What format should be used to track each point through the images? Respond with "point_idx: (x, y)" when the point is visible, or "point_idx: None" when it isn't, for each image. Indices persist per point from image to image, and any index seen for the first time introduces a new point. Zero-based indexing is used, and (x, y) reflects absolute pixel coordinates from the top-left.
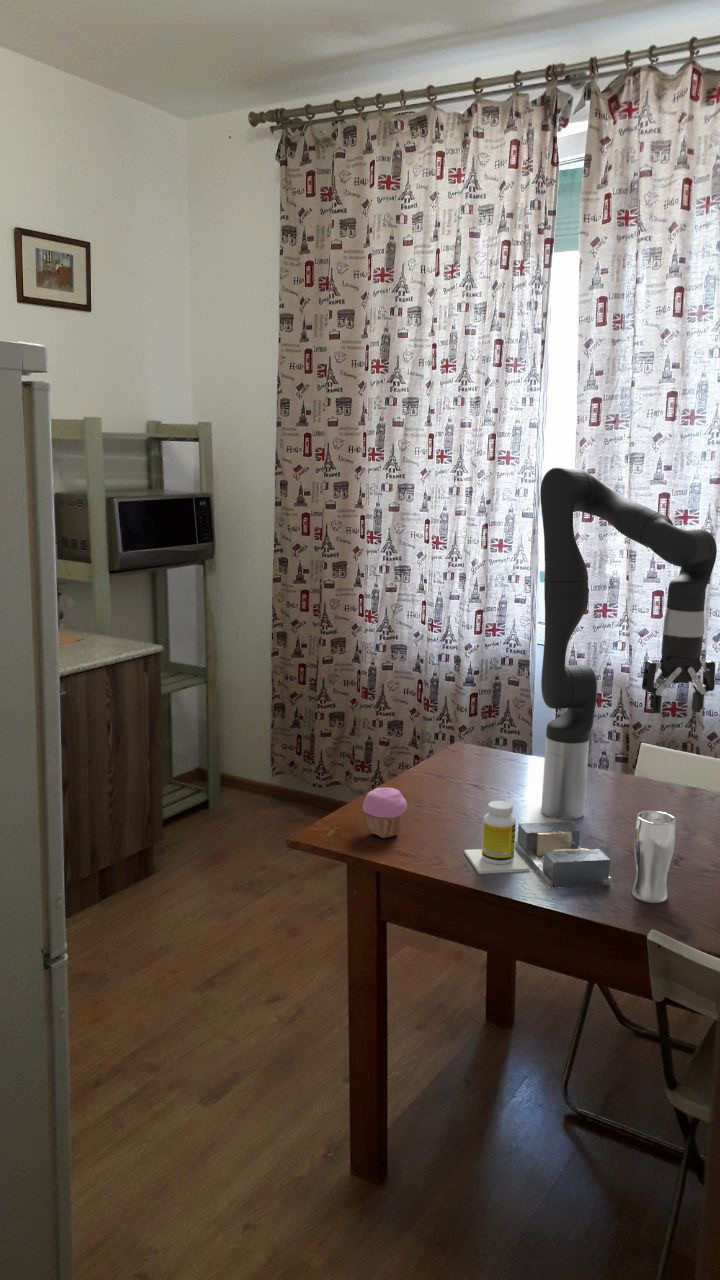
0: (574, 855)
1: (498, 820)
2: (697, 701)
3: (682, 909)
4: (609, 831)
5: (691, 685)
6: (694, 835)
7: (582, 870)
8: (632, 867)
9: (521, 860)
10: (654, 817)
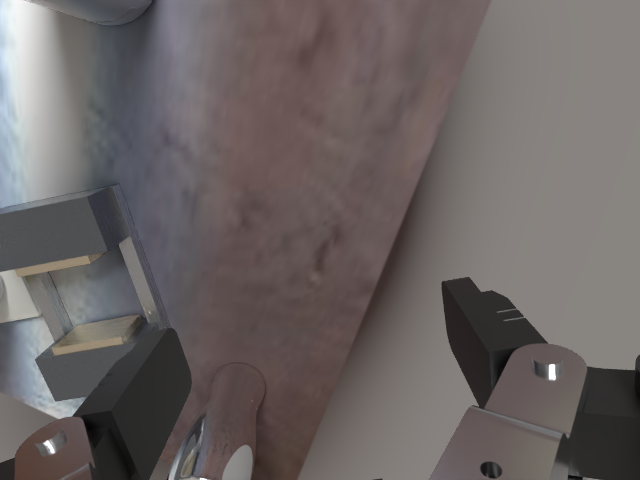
0: (93, 372)
1: None
2: (472, 387)
3: (279, 421)
4: (214, 96)
5: (488, 404)
6: (413, 104)
7: None
8: (231, 284)
9: (21, 284)
10: (208, 466)
